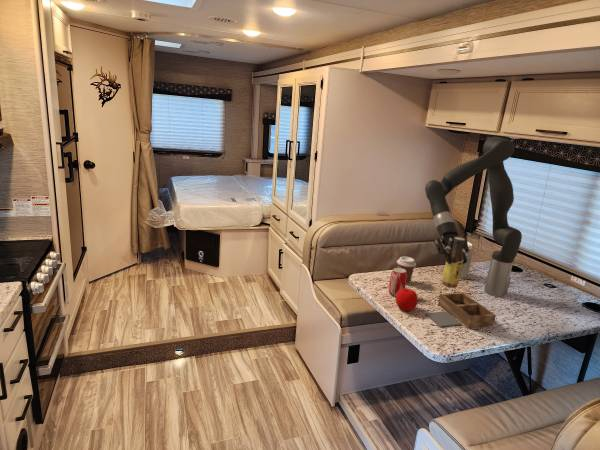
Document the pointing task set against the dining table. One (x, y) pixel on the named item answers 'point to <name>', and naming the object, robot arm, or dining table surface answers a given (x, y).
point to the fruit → (406, 299)
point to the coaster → (443, 319)
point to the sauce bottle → (454, 264)
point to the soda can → (397, 280)
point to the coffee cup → (407, 266)
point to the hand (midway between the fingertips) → (457, 263)
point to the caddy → (466, 310)
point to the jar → (467, 265)
